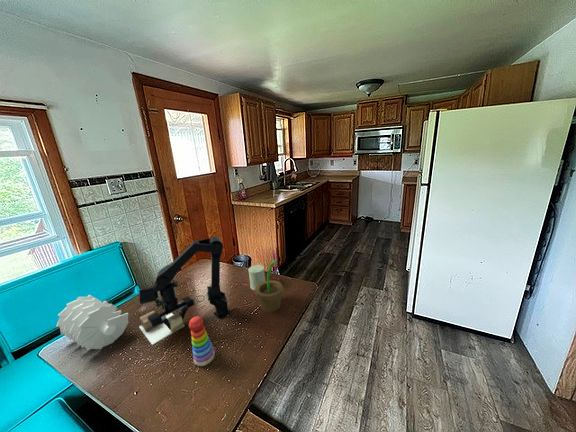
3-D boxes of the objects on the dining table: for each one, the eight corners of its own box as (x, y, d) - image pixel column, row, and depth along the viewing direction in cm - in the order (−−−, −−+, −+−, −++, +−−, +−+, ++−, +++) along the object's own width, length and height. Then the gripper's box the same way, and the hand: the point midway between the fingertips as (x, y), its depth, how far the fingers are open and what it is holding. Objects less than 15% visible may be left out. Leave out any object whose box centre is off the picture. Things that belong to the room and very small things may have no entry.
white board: (184, 326, 107) (184, 325, 107) (152, 345, 97) (151, 344, 97) (169, 311, 118) (169, 310, 118) (139, 327, 108) (139, 326, 108)
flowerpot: (286, 312, 112) (282, 256, 103) (257, 317, 110) (250, 260, 102) (282, 295, 125) (278, 244, 117) (256, 299, 123) (250, 247, 115)
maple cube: (183, 326, 106) (181, 317, 105) (172, 333, 103) (170, 323, 101) (179, 321, 109) (177, 312, 108) (168, 327, 106) (166, 318, 105)
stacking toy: (208, 346, 95) (200, 307, 90) (219, 356, 90) (211, 315, 85) (189, 360, 89) (180, 319, 84) (200, 371, 84) (191, 329, 79)
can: (247, 289, 133) (245, 271, 129) (254, 281, 141) (252, 263, 138) (262, 291, 130) (260, 272, 127) (268, 282, 138) (266, 264, 135)
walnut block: (160, 324, 108) (158, 315, 107) (146, 332, 104) (143, 323, 103) (155, 319, 112) (153, 310, 111) (142, 326, 108) (139, 317, 107)
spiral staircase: (105, 360, 96) (74, 341, 106) (139, 320, 108) (108, 306, 118) (70, 343, 84) (39, 323, 94) (112, 300, 96) (80, 286, 106)
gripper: (181, 281, 114) (187, 308, 118) (139, 300, 100) (147, 329, 105) (192, 289, 106) (198, 317, 110) (148, 310, 93) (156, 341, 97)
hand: (175, 325), depth 106 cm, fingers closed on maple cube, 5 cm apart
